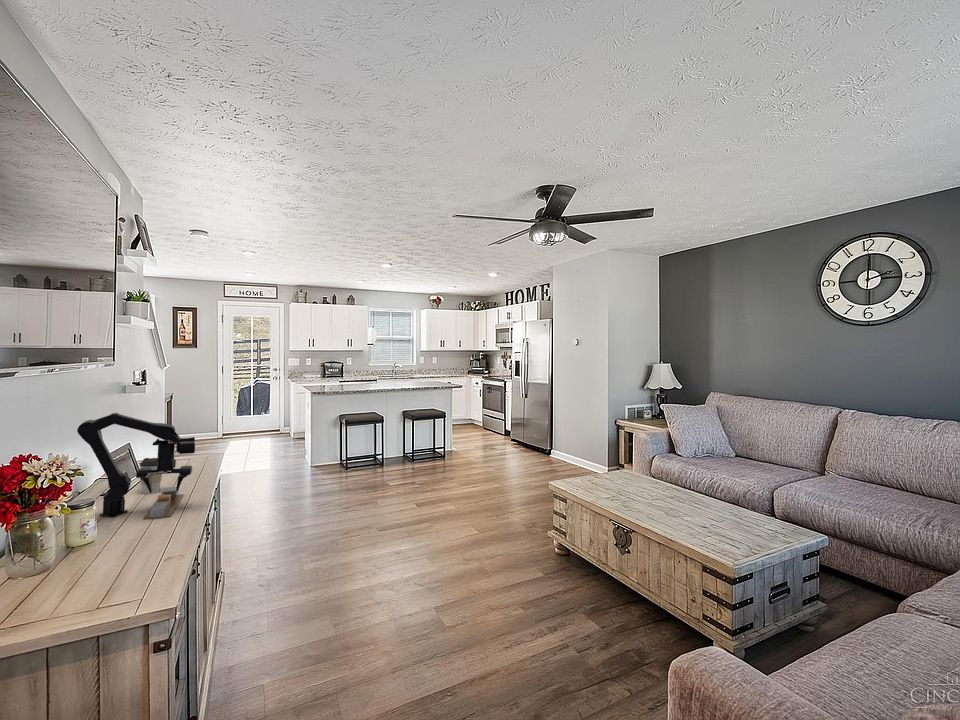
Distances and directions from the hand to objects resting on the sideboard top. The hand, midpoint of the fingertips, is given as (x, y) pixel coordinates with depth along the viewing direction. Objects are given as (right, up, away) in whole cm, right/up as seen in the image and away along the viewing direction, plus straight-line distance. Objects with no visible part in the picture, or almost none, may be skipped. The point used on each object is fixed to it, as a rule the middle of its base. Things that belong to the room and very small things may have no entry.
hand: (164, 491), depth 189 cm
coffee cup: (-20, -6, +20) cm, 29 cm away
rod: (+1, -6, -2) cm, 6 cm away
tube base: (-1, -7, +2) cm, 7 cm away
